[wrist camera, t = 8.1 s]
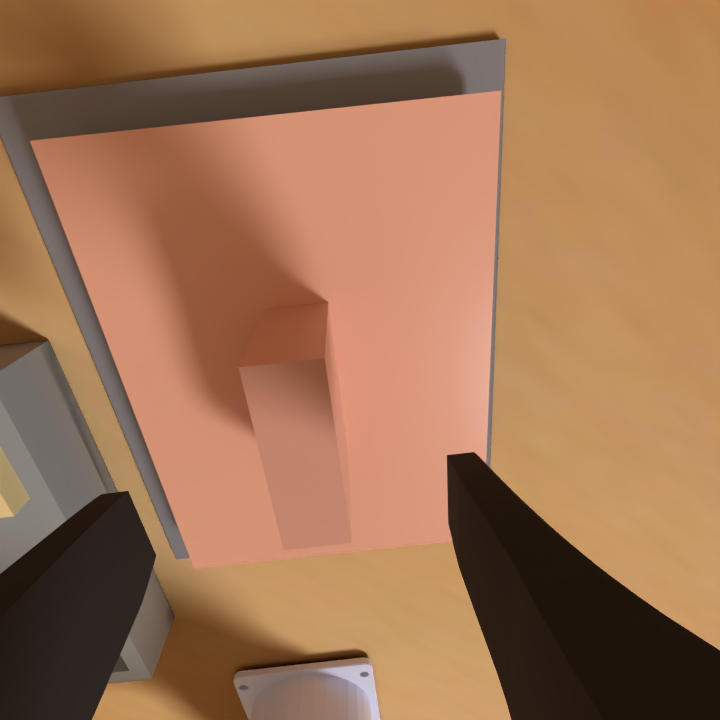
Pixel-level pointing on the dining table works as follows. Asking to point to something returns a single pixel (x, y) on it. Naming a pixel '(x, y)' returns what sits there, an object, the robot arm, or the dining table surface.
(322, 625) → the dining table surface
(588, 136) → the dining table surface
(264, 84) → the mat
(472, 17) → the dining table surface
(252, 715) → the robot arm
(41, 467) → the tub
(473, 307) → the lid
